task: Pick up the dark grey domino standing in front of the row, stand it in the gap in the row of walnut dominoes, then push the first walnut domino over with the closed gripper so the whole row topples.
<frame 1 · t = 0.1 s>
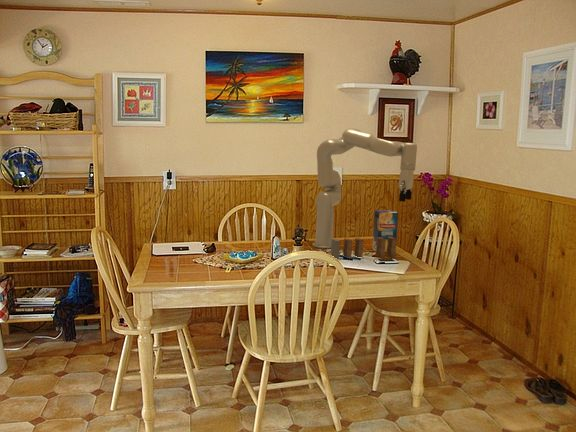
hand: (405, 200, 285), 31 cm above the table, tool pointing down, fingers open, 9 cm apart
domino 2: (358, 257, 289), on the table
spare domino: (334, 258, 284), on the table
beverage box: (383, 250, 308), on the table
domino 4: (380, 256, 293), on the table
domino 5: (390, 256, 295), on the table
domino 1: (346, 258, 286), on the table
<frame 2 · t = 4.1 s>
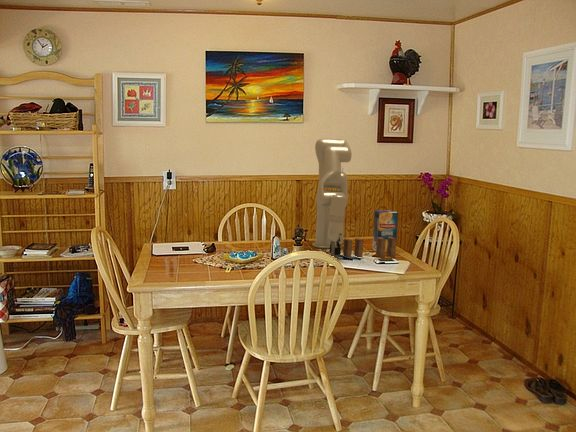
hand: (334, 253, 283), 3 cm above the table, tool pointing down, fingers closed on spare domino, 4 cm apart
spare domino: (334, 258, 284), on the table, touching gripper
everything else where it was.
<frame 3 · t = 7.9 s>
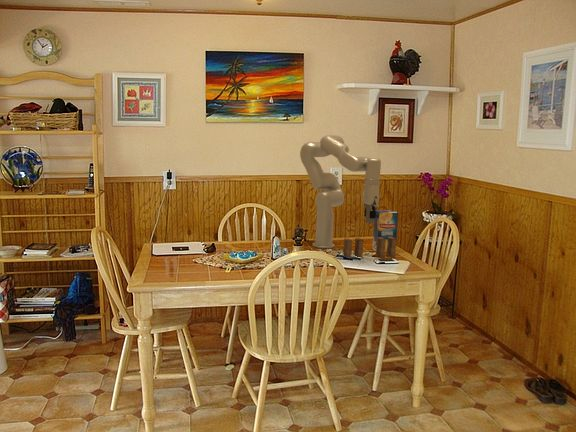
hand: (369, 217, 286), 22 cm above the table, tool pointing down, fingers closed on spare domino, 4 cm apart
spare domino: (369, 222, 287), point 19 cm above the table, touching gripper
everything else where it was.
when the fingers open (4 cm above the table, at t = 11.9 s): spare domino stays where it is, on the table.
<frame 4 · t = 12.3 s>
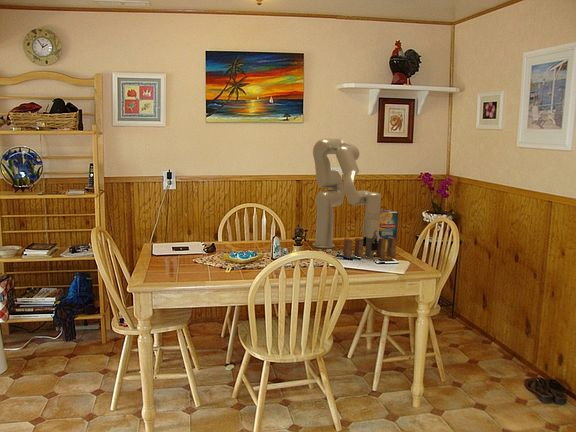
hand: (369, 248, 290), 5 cm above the table, tool pointing down, fingers open, 9 cm apart
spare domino: (369, 257, 291), on the table
everything else where it was.
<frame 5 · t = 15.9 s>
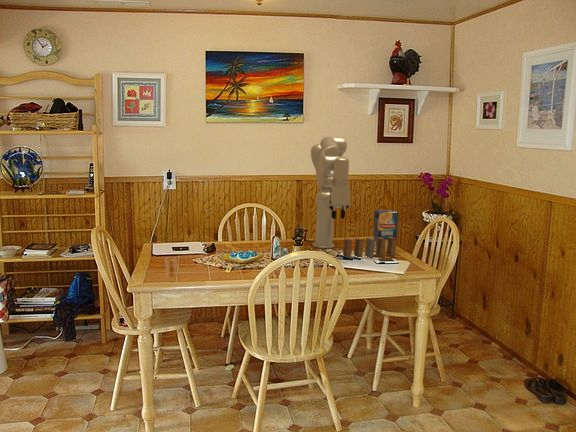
hand: (338, 218, 280), 21 cm above the table, tool pointing down, fingers open, 4 cm apart
nothing on the table moved.
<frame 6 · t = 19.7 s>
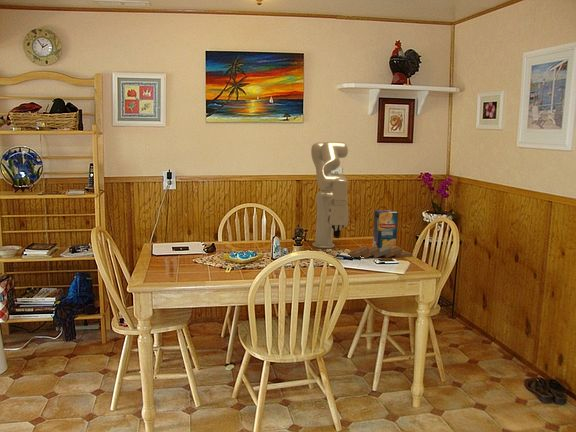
hand: (336, 237, 285), 11 cm above the table, tool pointing down, fingers closed
domino 2: (360, 255, 289), point 1 cm above the table, tilted 70°, touching domino 1, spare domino
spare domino: (372, 255, 291), point 1 cm above the table, tilted 71°, touching domino 2, domino 4
domino 4: (383, 254, 293), point 1 cm above the table, tilted 73°, touching domino 5, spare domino
domino 5: (393, 255, 296), point 1 cm above the table, tilted 90°, touching domino 4
domino 1: (350, 256, 287), point 1 cm above the table, tilted 69°, touching domino 2
everything else where it was.
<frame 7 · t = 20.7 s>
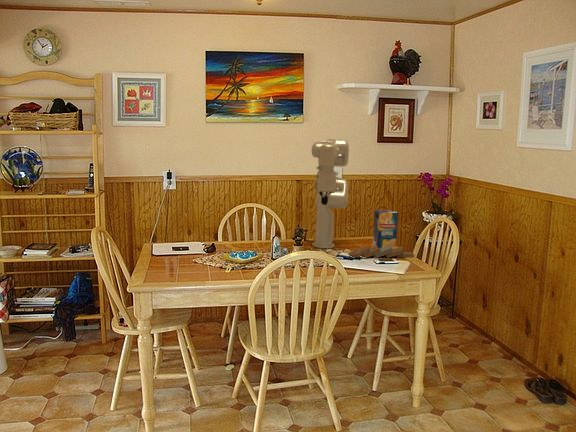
hand: (324, 204, 285), 27 cm above the table, tool pointing down, fingers closed
domino 2: (361, 255, 289), point 1 cm above the table, tilted 71°, touching domino 1
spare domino: (373, 255, 292), point 1 cm above the table, tilted 71°, touching domino 4
domino 1: (350, 256, 287), point 1 cm above the table, tilted 70°, touching domino 2
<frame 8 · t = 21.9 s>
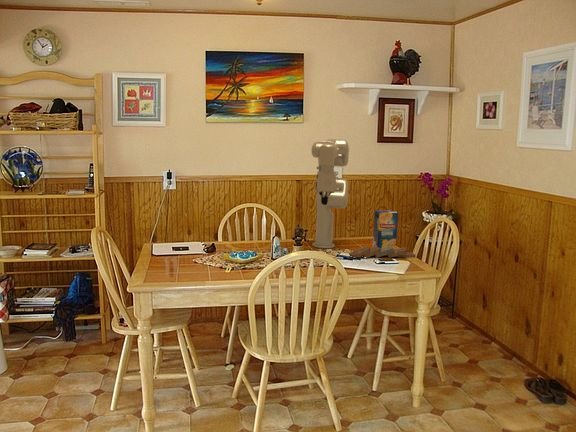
hand: (324, 204, 285), 27 cm above the table, tool pointing down, fingers closed
domino 2: (362, 255, 289), point 1 cm above the table, tilted 71°, touching domino 1, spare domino
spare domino: (374, 254, 292), point 1 cm above the table, tilted 71°, touching domino 2, domino 4
domino 4: (387, 254, 294), point 1 cm above the table, tilted 75°, touching domino 5, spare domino
at the end: domino 5 tilted 90°; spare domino inside the target area (1.4 cm from its centre), point 1.0 cm above the table; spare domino tilted 71° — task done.
